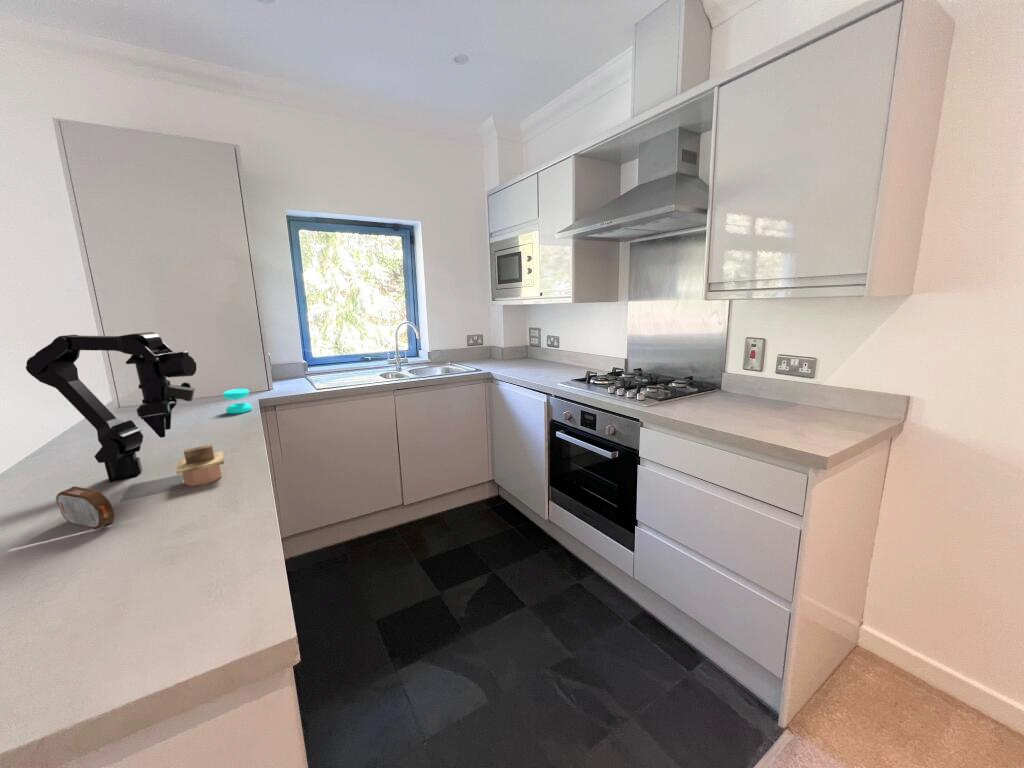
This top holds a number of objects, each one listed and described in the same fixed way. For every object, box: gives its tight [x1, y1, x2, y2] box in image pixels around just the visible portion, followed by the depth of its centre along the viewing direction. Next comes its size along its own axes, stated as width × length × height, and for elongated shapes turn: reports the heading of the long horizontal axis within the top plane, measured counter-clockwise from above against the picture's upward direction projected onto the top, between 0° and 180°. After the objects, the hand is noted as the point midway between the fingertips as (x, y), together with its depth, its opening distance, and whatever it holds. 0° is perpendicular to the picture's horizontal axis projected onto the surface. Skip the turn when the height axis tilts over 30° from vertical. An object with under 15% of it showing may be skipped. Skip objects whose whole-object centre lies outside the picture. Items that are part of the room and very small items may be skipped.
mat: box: [118, 473, 184, 503], centre depth 112 cm, size 12×12×1 cm
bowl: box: [182, 464, 223, 487], centre depth 114 cm, size 8×8×5 cm
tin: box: [55, 486, 116, 530], centre depth 93 cm, size 15×3×8 cm, turn 71°
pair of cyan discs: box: [222, 388, 253, 415], centre depth 191 cm, size 10×10×10 cm
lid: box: [175, 444, 225, 475], centre depth 113 cm, size 10×10×4 cm
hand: (165, 433), depth 119 cm, fingers open, 9 cm apart
